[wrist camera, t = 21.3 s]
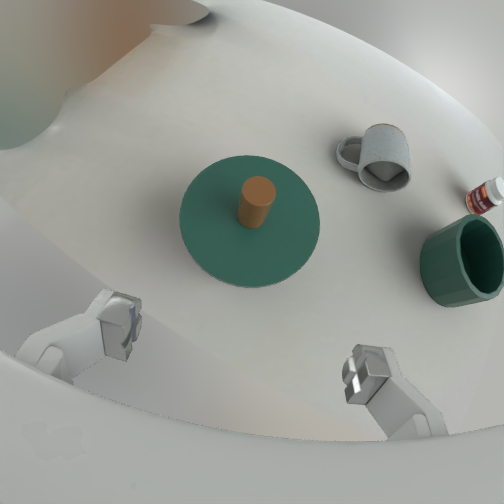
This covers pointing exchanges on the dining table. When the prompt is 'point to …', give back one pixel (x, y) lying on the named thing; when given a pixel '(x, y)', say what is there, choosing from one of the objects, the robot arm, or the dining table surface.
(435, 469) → the robot arm
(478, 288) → the tin
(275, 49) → the dining table surface
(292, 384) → the dining table surface
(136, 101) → the dining table surface
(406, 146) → the ceramic mug
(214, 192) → the tin lid
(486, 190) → the pill bottle
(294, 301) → the dining table surface
